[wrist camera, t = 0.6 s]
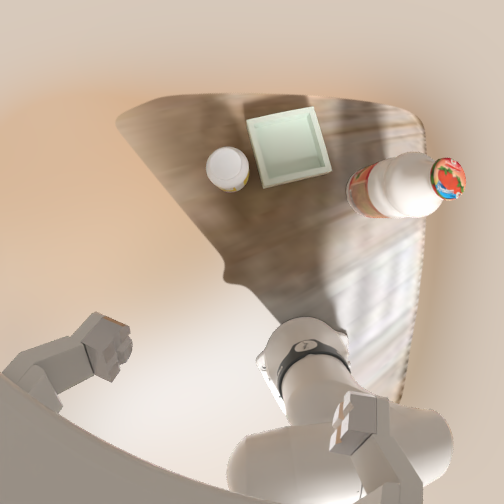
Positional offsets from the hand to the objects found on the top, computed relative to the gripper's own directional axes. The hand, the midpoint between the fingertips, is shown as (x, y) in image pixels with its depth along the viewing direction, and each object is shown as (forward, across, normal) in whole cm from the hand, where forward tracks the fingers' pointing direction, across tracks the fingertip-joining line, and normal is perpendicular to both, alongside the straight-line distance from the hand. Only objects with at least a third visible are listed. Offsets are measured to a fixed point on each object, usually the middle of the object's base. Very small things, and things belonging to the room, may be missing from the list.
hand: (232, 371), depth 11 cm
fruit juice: (+53, +11, -8) cm, 55 cm away
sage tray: (+52, -6, -4) cm, 52 cm away
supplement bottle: (+48, -14, -10) cm, 50 cm away
